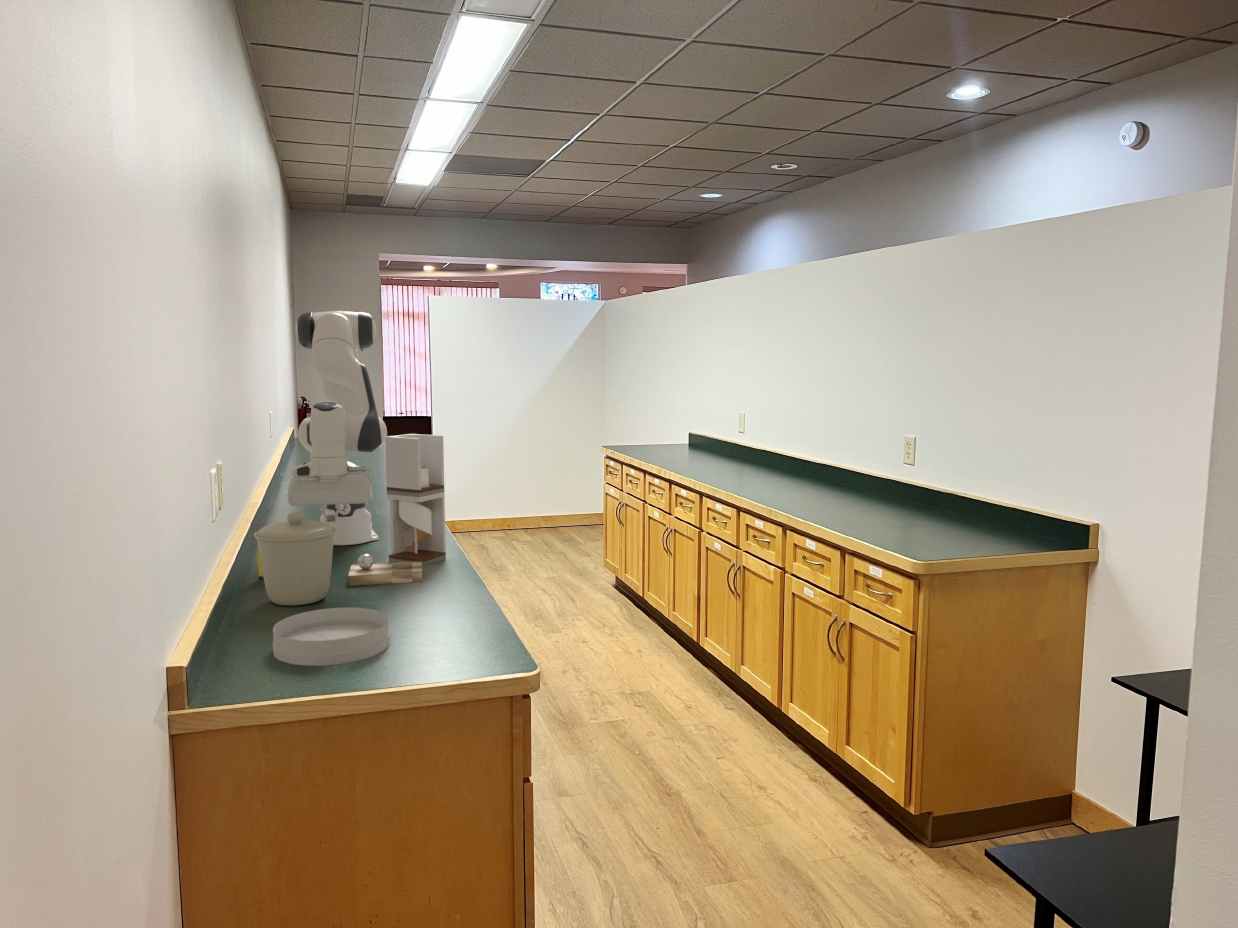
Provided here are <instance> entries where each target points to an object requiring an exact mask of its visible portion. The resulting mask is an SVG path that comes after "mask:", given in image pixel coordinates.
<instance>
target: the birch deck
mask: <svg viewBox="0 0 1238 928" xmlns="http://www.w3.org/2000/svg"><path fill="white" fill-rule="evenodd" d="M347 578H348V579H347V580H348V586H352V587H353V586H367V585H386V584H401V583H402V584H404V583H405V584H407V583H419V582H422V583H423V566H422V561H417V562H397V563H391V562H380V563H379V562H377V563H374V564H373V566H372V567H371V568H370V569H367V570H364V569H361V568H360V567H359V565H358V563H357V564H351V565H350V569H349V572H348V577H347Z"/></svg>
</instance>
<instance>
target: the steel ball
mask: <svg viewBox="0 0 1238 928" xmlns="http://www.w3.org/2000/svg"><path fill="white" fill-rule="evenodd" d="M357 564H358V565H359V567H360V568H361V569H364V570H367V569H370V568H371V567H372V566H373V564H375V559H374V557H373V556H372V555H371V554H369V553H363V554H361V555H360V556H359V557H358V559H357Z"/></svg>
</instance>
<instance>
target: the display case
mask: <svg viewBox="0 0 1238 928" xmlns="http://www.w3.org/2000/svg"><path fill="white" fill-rule="evenodd" d="M384 445H385V447H384V448H385V477H386V480H385V481H386V500H389V513H390V514H389V515H390V516H389V517H390V544H391V547H390V548H391V549H390V550H391V554H388V563H397V562H417V561H422V567H424V566H427V565H430V564H434V563H437V562H441V561H444V560H446V559H447V558H446V557H447V553H446V552H447V551H446V549H447V548H446V508H445V504H446V503H445V499H446V498H445V466H444V465H445V462H444V461H445V460H444V457H445V456H444V435H441V434H440V435H439V434H438V435H437V434H418V433H406V434H399V435H387V437H385V442H384Z"/></svg>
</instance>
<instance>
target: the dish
mask: <svg viewBox="0 0 1238 928" xmlns="http://www.w3.org/2000/svg"><path fill="white" fill-rule="evenodd" d="M272 633H273V634H272V637H273V641H272V653H273V657H274V658H275V659H277V660H278V661H280V662H283V663H286V664H290V665H291V664H292V665H298V666H306V667H307V666H311V667H315V666H317V667H320V666H334V665H341V664H342V665H343V664H347V663H352V662H357V661H362V660H365V659H368V658H370V657H373V656H376V655H378V654H380V653H382V652H384V651H385V650H386V649H387V648H388V647H389V646H390V642H391V631H390V630H389V617H388V616H387V614H386V613H384V612H382V611H380V610H377V609H372V608H363V607H330V608H329V607H328V608H322V609H321V608H320V609H315V610H310V611H304V612H300V613H297V614H293V615H290V616H288V617H285V618H283V619H281V620H279V621H278V622H276V623H275V624H274V626H273V627H272Z"/></svg>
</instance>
